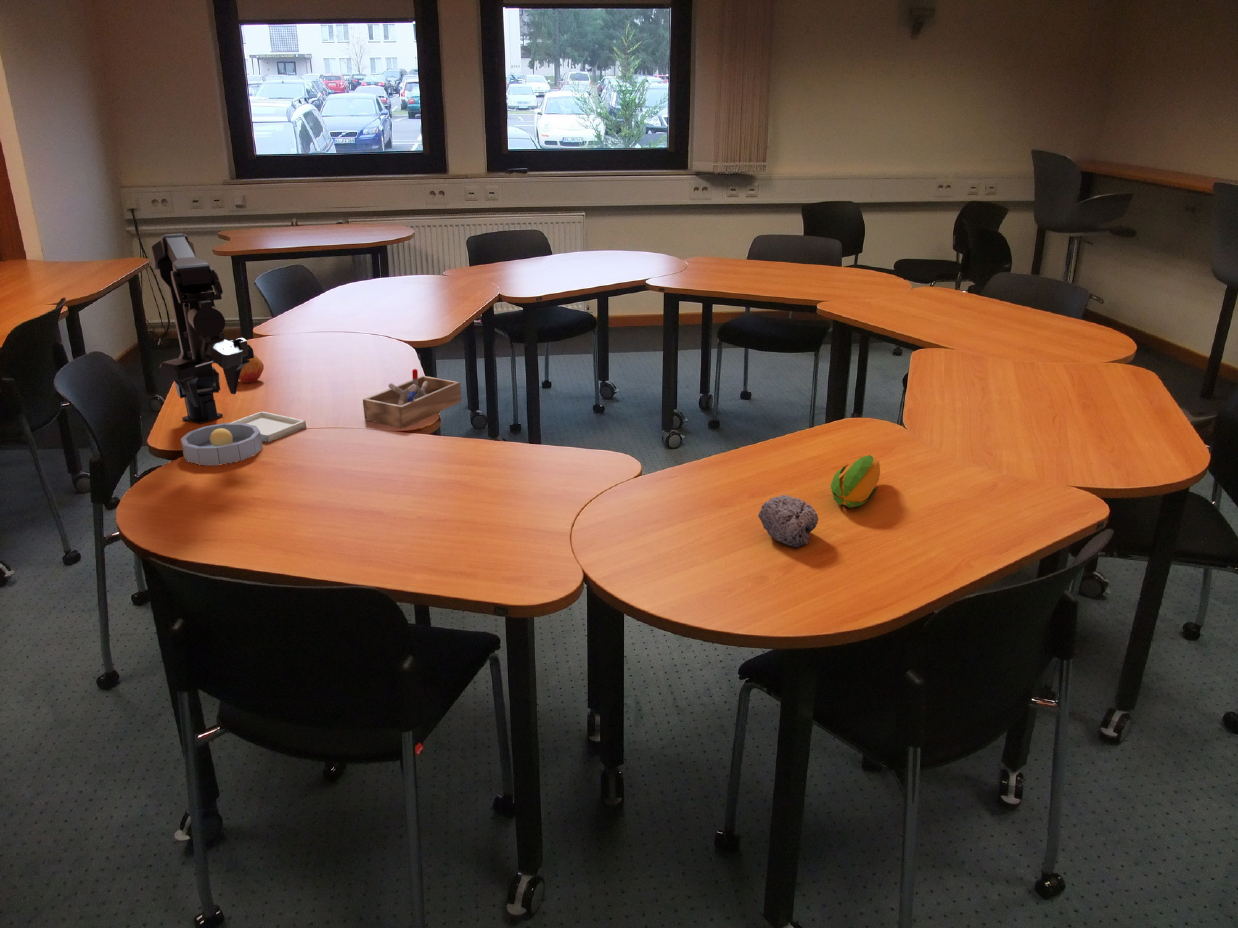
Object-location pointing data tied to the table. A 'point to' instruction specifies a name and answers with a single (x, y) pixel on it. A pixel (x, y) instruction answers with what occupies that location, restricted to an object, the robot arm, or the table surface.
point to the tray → (273, 425)
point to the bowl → (205, 453)
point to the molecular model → (410, 389)
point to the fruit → (251, 370)
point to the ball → (221, 437)
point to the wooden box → (412, 402)
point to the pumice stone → (788, 520)
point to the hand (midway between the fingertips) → (215, 400)
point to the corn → (856, 482)
